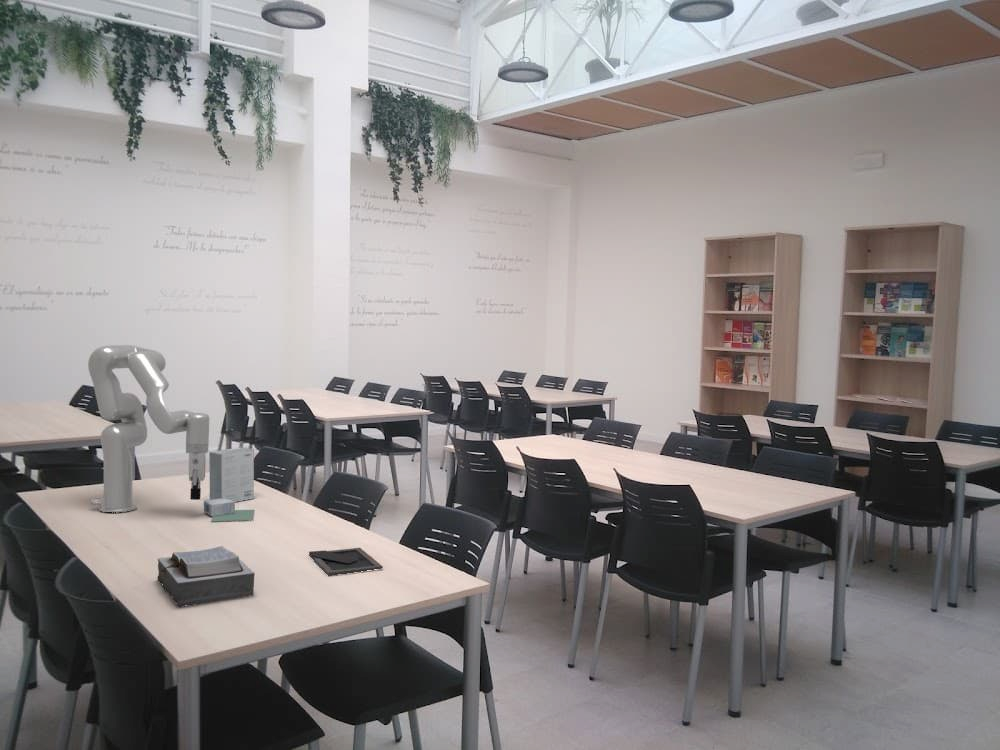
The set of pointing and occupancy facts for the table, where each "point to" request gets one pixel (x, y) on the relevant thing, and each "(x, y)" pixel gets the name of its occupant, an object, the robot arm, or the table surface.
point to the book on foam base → (205, 576)
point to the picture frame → (344, 561)
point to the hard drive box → (232, 474)
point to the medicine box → (219, 507)
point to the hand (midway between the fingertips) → (195, 499)
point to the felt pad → (235, 516)
